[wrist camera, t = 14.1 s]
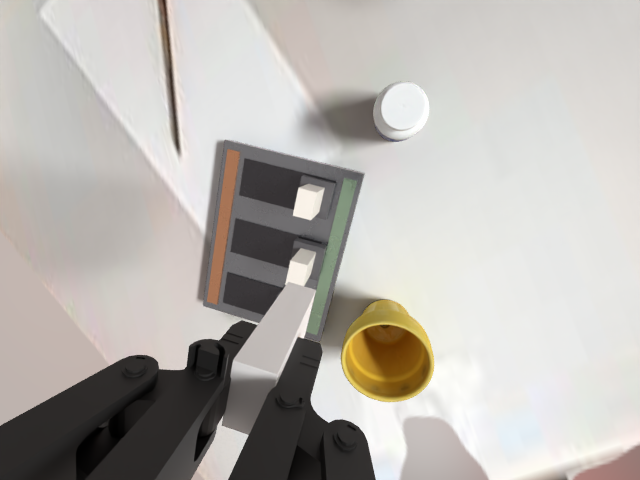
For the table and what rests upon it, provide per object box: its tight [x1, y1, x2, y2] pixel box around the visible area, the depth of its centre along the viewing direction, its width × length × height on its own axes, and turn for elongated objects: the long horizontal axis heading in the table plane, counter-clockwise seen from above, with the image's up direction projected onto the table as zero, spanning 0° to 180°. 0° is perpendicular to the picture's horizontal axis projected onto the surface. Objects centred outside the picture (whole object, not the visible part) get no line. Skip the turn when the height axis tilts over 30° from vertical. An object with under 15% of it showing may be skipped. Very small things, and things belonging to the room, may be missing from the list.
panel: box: [203, 140, 365, 342], centre depth 43 cm, size 24×18×2 cm
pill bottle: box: [373, 81, 429, 142], centre depth 33 cm, size 5×5×10 cm
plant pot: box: [341, 300, 434, 402], centre depth 40 cm, size 10×10×10 cm
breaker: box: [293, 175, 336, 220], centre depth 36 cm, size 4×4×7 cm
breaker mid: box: [285, 238, 327, 286], centre depth 38 cm, size 4×4×7 cm
